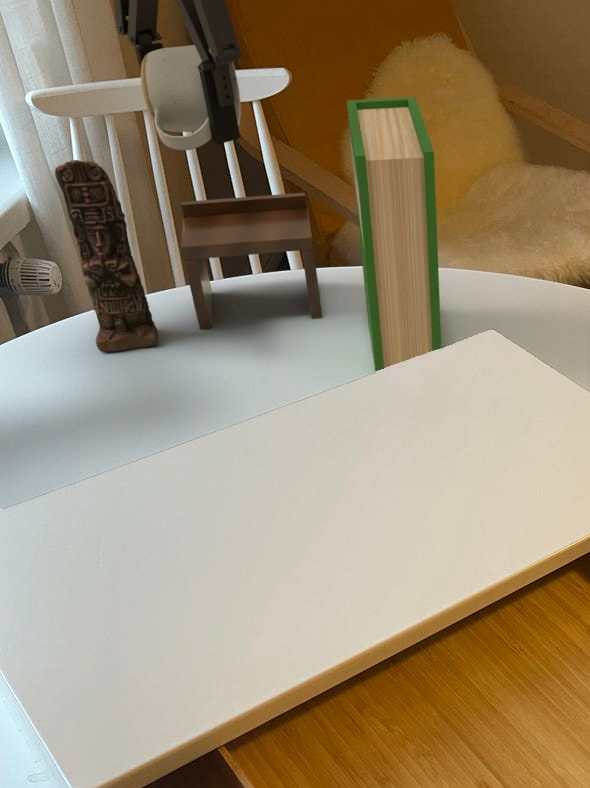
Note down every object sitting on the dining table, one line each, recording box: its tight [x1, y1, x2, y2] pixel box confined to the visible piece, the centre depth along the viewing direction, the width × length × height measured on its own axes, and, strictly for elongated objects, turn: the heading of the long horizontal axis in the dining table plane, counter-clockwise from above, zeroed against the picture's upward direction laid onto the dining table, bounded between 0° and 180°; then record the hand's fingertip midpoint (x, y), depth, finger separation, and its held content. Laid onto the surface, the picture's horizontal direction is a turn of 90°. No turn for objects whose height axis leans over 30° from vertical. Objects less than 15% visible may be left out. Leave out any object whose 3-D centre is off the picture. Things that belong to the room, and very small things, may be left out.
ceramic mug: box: [140, 44, 242, 151], centre depth 93 cm, size 11×8×8 cm
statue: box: [54, 159, 159, 352], centre depth 106 cm, size 7×7×20 cm
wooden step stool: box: [180, 192, 323, 330], centre depth 115 cm, size 15×10×12 cm, turn 101°
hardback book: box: [346, 96, 442, 372], centre depth 103 cm, size 18×7×24 cm, turn 8°
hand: (195, 128), depth 96 cm, fingers closed on ceramic mug, 10 cm apart
